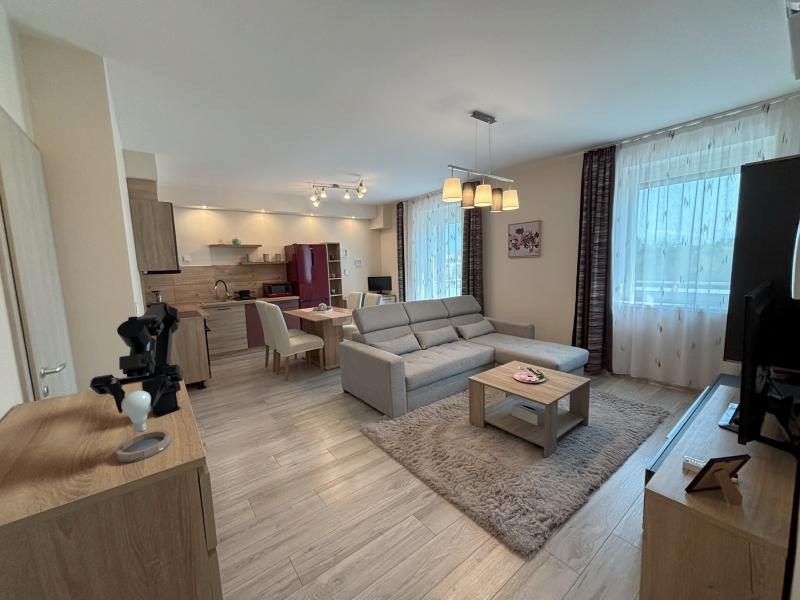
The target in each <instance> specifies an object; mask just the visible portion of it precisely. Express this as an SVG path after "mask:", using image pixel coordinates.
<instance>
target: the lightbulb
mask: <svg viewBox="0 0 800 600" xmlns="http://www.w3.org/2000/svg"><path fill="white" fill-rule="evenodd" d="M151 398H152V396H151V395H150V394H149V393H148V392H146V391H143V390H135V391H132V392H130V393H128V394H127V395H125V398H124V399H123V401H122V403H121V409H122V413H123V414H125V415H126V416H128V417H129V419H130V421H131V423H132V424H133V432H135V433H143V432H144V431H145V430H147V428H148V424H147V423H148V422H147V418H148V413H149V411H150V408H151Z"/></svg>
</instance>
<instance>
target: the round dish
mask: <svg viewBox="0 0 800 600" xmlns="http://www.w3.org/2000/svg"><path fill="white" fill-rule="evenodd" d="M170 434H171V433H170V432H169V431H167V430H164V429H163V430H161V429H160V430H159V429H158V430H157V429H156V430H151V431H146V432H141V433H140V434H137V435H134V436H133V437H130V438H128V439H127V440H125V441H123V442H122V443H120V444H119V445H118V447H117V448H116V449H115V453H116V454H115V455H116V460H117V461H118V462H119V463H125V464H126V463H135V462H140V461H142V460H146V459H149V458H151V457H153V456H156V455H157V454H160V453H161V452H163V451H164V450H166V449H167V448H168V447H169V446H170V444H171V442H172V439H171V435H170Z"/></svg>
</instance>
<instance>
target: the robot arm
mask: <svg viewBox="0 0 800 600" xmlns="http://www.w3.org/2000/svg"><path fill="white" fill-rule="evenodd" d="M148 307H149V308H147V310H146V311H145V312H144V314H143V315H141V316H138V315H136V316H128V317H127V320H126V321H123V322H122V323H120V324H119V326H118V327H117V329H116V332H117V334H118V336H119V337H120V338H121V340H122V341H123V342H124V344H125V345H126V347H129V355H123V356H122V355H121V356H119V357H118V362H119V363H118V368H119V369H118V370H120V371H122V374H123V375H125V376H123V377H115V376H114V375H113V374H104V375H98V376H94V377H92V379H91V380H90V384H89V388H91V389H92V390H93V391H94V392H95V393H96V394H97V395H100V396H101V395H102V396H103V395H109V396H112V397H113V398H114V399H113V400H114V403H115V406H116V408H117V411H118V413H119V414H123V411H122V409H121V403H122V401H123V399H124V398H125V396H126V391H125V390H124V389H123V386H127V385H131V384H139V383H141V389H142V391H146V392H148V393H149V394H150V395H151V396H152V398H151V408H150V410H149V411H150V413H151V414H152V415H155V417H157V418H158V417H162V416H165V415H167V414H170V413H172V412H176V411H178V410H181V406H179V405H178V404H179V402H178V397H177V393H178V392H180V391H181V390H182V388H181V382H183V380H184V372H183V370H182V368H181V366H180V365H178V364H171V355H172V344H173V334H174V333H175V332H176V331H177V330H178V329H179V325H180V323H181V314H180V312H179V310H178V309H177V308H176V307H173V306H171V305H170V304H169V303H168V302H165V301H164V302H155V303H154V302H153V303H150V304H149V305H148ZM154 337H155V338H154ZM170 364H171V365H170Z"/></svg>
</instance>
